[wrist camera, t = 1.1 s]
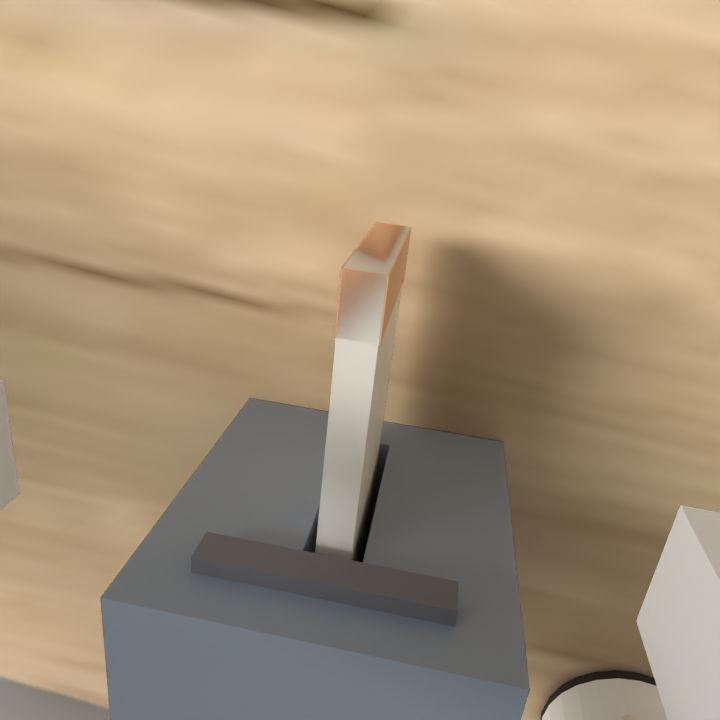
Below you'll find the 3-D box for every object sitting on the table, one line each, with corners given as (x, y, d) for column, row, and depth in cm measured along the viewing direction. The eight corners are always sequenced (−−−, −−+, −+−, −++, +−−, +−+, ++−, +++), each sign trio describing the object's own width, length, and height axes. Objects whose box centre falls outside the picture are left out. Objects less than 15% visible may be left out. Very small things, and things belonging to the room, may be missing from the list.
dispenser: (243, 562, 33) (118, 816, 21) (249, 386, 29) (99, 581, 17) (464, 607, 32) (463, 904, 20) (505, 430, 28) (534, 673, 16)
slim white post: (333, 592, 30) (296, 725, 23) (376, 222, 23) (341, 267, 16) (359, 598, 30) (330, 733, 23) (411, 227, 22) (389, 274, 16)
